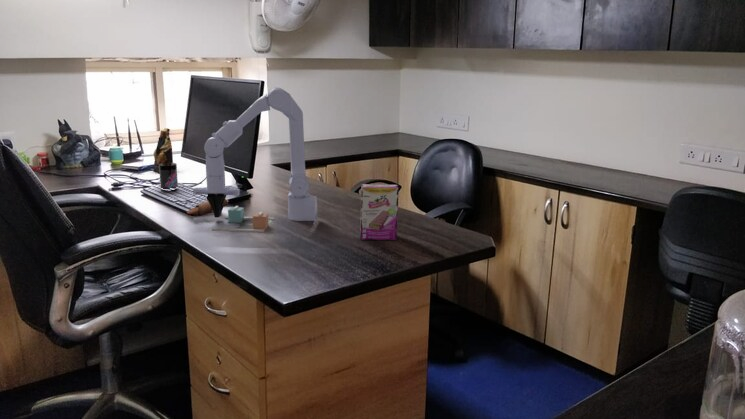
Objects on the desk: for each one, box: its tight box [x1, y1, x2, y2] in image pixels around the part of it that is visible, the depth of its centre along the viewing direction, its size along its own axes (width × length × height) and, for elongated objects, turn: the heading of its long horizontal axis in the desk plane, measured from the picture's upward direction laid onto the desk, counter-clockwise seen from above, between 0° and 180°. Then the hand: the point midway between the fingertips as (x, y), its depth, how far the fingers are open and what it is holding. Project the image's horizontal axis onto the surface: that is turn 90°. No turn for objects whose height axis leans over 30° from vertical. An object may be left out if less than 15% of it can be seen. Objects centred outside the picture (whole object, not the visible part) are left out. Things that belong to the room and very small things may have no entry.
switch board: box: [211, 216, 275, 233], centre depth 195 cm, size 16×15×2 cm
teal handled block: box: [227, 205, 245, 224], centre depth 198 cm, size 4×4×5 cm
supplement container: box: [159, 162, 179, 189], centre depth 246 cm, size 7×7×10 cm
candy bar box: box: [359, 183, 399, 241], centre depth 185 cm, size 11×5×16 cm, turn 92°
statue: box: [152, 127, 174, 174], centre depth 281 cm, size 12×8×20 cm, turn 37°
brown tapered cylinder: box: [186, 198, 229, 216], centre depth 214 cm, size 18×7×7 cm
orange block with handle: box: [252, 211, 270, 230], centre depth 191 cm, size 4×4×5 cm
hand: (217, 216), depth 199 cm, fingers closed
